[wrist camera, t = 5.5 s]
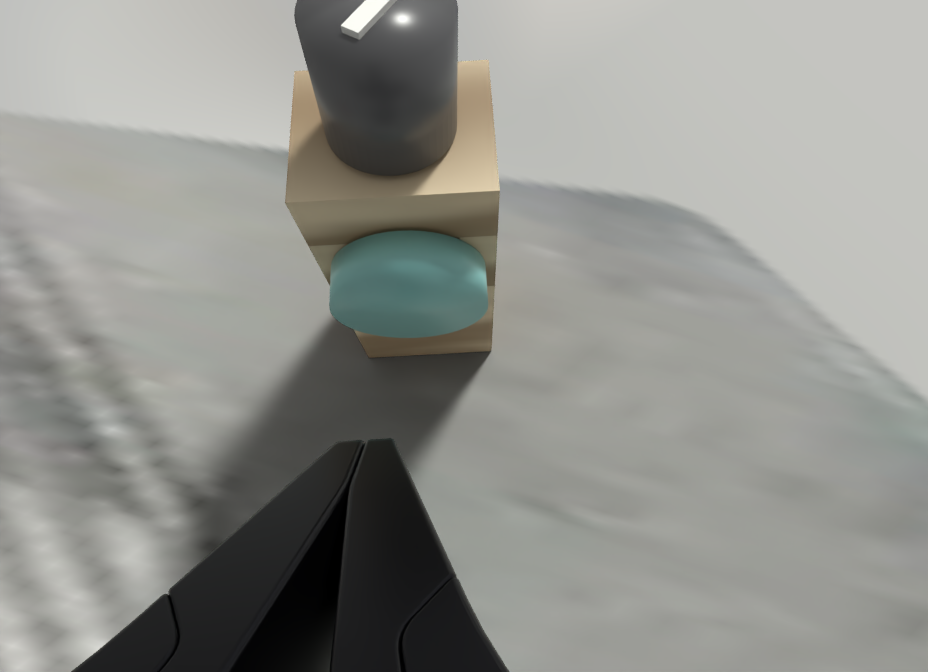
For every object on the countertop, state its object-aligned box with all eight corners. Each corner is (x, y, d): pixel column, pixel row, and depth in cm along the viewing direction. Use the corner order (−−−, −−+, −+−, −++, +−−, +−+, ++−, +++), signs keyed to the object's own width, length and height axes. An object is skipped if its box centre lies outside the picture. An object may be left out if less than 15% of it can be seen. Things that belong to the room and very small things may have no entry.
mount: (491, 350, 24) (499, 190, 14) (368, 357, 24) (284, 202, 14) (485, 263, 25) (488, 59, 15) (369, 270, 25) (294, 71, 15)
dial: (412, 196, 13) (401, 83, 10) (298, 141, 14) (258, 21, 11) (480, 106, 15) (487, -17, 12) (372, 60, 15) (354, -68, 12)
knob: (487, 333, 18) (489, 267, 14) (347, 341, 18) (310, 278, 14) (476, 179, 21) (476, 83, 16) (351, 186, 21) (319, 92, 17)
